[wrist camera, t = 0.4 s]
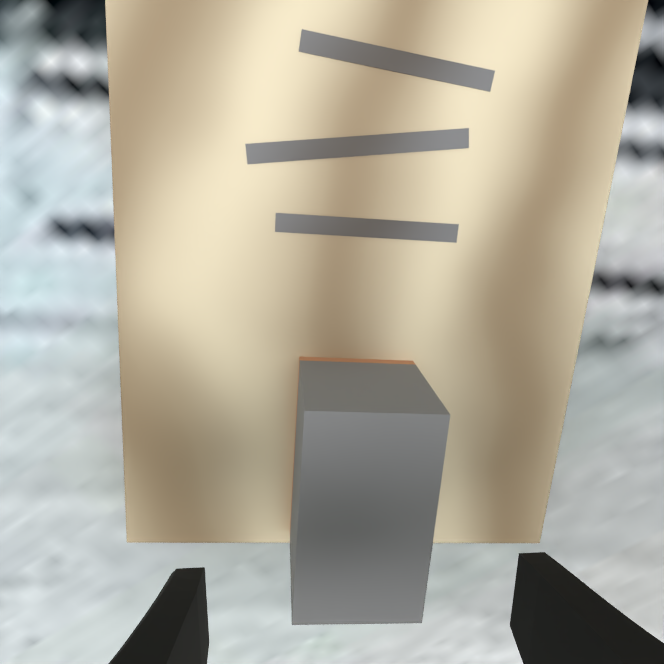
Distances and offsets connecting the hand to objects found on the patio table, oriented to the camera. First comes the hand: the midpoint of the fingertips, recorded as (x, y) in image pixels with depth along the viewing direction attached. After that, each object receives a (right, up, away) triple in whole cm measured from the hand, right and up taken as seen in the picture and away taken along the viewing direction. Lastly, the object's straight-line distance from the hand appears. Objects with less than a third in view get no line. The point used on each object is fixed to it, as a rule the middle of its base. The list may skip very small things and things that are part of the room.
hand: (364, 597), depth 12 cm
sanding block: (0, +2, +8) cm, 8 cm away
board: (0, +11, +7) cm, 13 cm away
